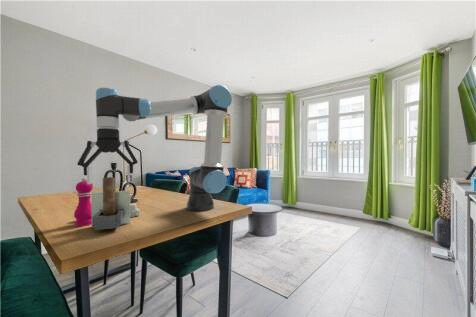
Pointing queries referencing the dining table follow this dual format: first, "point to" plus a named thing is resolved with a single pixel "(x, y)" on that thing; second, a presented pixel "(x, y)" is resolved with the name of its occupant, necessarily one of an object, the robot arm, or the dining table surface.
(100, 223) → the grey card holder
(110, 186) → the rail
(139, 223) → the dining table surface
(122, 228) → the dining table surface
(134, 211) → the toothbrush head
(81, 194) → the pepper mill
